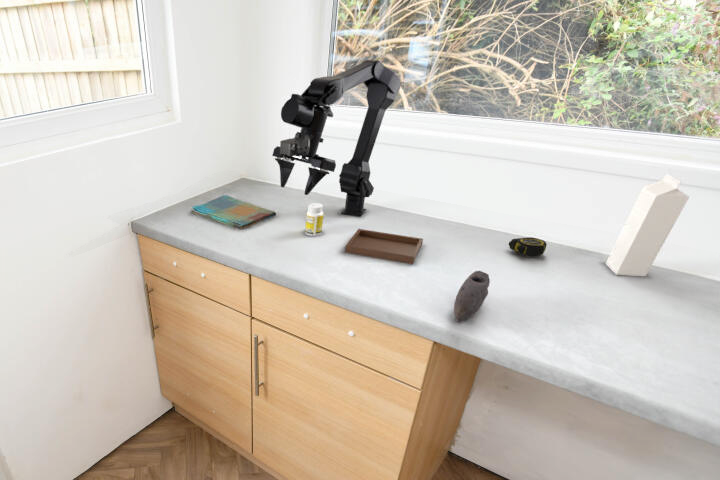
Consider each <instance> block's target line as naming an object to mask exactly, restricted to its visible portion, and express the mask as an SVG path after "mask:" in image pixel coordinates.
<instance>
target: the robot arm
mask: <svg viewBox="0 0 720 480" xmlns="http://www.w3.org/2000/svg"><path fill="white" fill-rule="evenodd" d="M361 84H363V85H364V86H365V87H366V89H367V91H366V96H365V97H366V100H367V109H366V113H365V116H364V119H363V122H362V126H361V128H360V133H359V135H358V138H357V142H356V145H355V148H354V152H353V155H352V158H351V159H350V160H349V161H348V162H344V163H343V164H342V167H341V171H340V174H339V175H338V177H339V180H338V183H339V187H340V192H341V193H344V194H346V196H345V203H344V204H345V205H344V208H343V210H342V211H340V214H341V215H345V216H351V217H352V216H353V217H360V218H361V217H362V216H363V215H364V214H365V213H366V211H367V208H365V207H364V206H365V200H366V198H369V197H370V196H372V195H373V192H374V190H375V188H374V186H373V184H372V182H371V181H370V178H371V177H370V176H371V168H370V159H371V157H372V153H373V150H374V147H375V143H376V142H377V141H376V140H377V138H378V134H379V132H380V129H381V126H382V123H383V119H384V117H385V113H386V111H387V110H388V108H389V107H391V105H392V104H394V102H395V101H396V98H397V96H398V94H399V92H400V89H401V87H402V81H401V80H400V77H399V75H398V74H396V73H395V72H394V71H393V70H392V69H390V68H388V67H386V66H385V65H384V63H383V62H382V61H380V60H378V59H377V60H374V59H365V60H364V61H362V62H361V63H359V64H357V65H354V66H353V67H350V68H349V69H346V70H344V71H342V72H339V73H338V74H336V75H330V76H321V77H316V78H314V79H312V80H311V81H310V85H309V86H308V87H307V88H306V89H305V90H304V91H303V92H302V93H301V94H298V93H292V94H291V95H290V98H289V99H287V101H285V103H284V105H283V106H281V110H280V118H281V120H282V121H283V123H285V124H288V125H291V126H294V127H298V128H300V131H297V132H296V133H295V135H294V137H293V138H287V139H283V140H282V139H281V140H280V142H279V143H280V145H279V146H278V145H277V146H276V147H275V148H273V152H272V157H275V158H274V161H276V162H277V164H278V166H279V177H280V187H281V188H285V187H286V185H287V183H288V181H289V178H290V177H291V174H292V172H293V170H294V167H295V165H296V163H295V161H298V162H301V163H304V164H309V165H310V166H308V168H307V169H308V178H307V182H306V184H305V188H304V195H305V196H308V195H309V194H310V193H311V192H312V191H313V189H315V187H316V186H317V185H318V183H319V182H321V180H323V178H325V177H326V175H330V173H331V172H332V173H334V172H335V170H336V168H337V165H336V160H334V159H331V158H327V157H323V156H320V155H319V154H317V152H318V148H319V145H320V143H321V144H322V143H323V142H324V140H325V139H324V138H323V137H322V136H323V132H324V129H325V126H326V122H327V119H328V118H333V117H334V113H333V111H332V109H331V106H332V105H334V104H335V103H336V102H338V101H339V100H340V99H341V98H342V97H343V94H344V93H345V92H348V91H349V90H351V89H353V88H355V87H357V86H359V85H361Z"/></svg>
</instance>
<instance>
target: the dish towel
mask: <svg viewBox="0 0 720 480" xmlns="http://www.w3.org/2000/svg"><path fill="white" fill-rule="evenodd" d="M190 209H191V210H190V211H189V212H190V213H191V214H193V215H196V216H200V217H202V218H205V219H209V220H212V221H214V222H218V223H219V224H223V225H226V226H229V227H232V228H235V229H238V230H240V231H241V230H244V229H245V228H248V227H251V226H254V225H257V224H258V223H261V222H263V221H264V222H265V221H266V220H269V219H271V218H273V217H275V216H277V213H276V211H274V210H270V209H267V208H264V207H262V206H259V205H255V204H252V203H250V202H246V201H242V200H239V199H236V198H234V197H231V196H230V195H228V194H226V195H225V194H223V195H220V196H219V197H216V198H214V199H212V200H210V201H207V202H205V203H203V204H198V205H193V206H192V207H191V208H190Z"/></svg>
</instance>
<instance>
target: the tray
mask: <svg viewBox="0 0 720 480" xmlns="http://www.w3.org/2000/svg"><path fill="white" fill-rule="evenodd" d="M423 243H424V238H422V237H415V236H408V235H402V234H395V233H388V232H383V231H375V230H369V229H363V228H358V229H357V230H356V232H354V233H353V235H352V237H351V238H350V239H349V240H348V242H347V243H346V244H345V249H344V253H347V254H353V255H358V256H363V257H369V258H375V259H380V260H386V261H393V262H398V263H403V264H410V265H414V263H415V260H416V259H417V256H418V254H419V252H420V251H421V248H422V246H423Z"/></svg>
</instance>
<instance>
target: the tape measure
mask: <svg viewBox="0 0 720 480" xmlns="http://www.w3.org/2000/svg"><path fill="white" fill-rule="evenodd" d="M508 246H509V249H510V250H511V251H514V252H515V253H516V254H518V255H520V256H524V257H528V258H530V257H531V258H535V257H541V256H543V254H544V253H545V251H546V249H547V242H546V241H545V240H543V239H540V238H537V237H529V236H528V237H519V238H512V239H511V240H509V241H508Z"/></svg>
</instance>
